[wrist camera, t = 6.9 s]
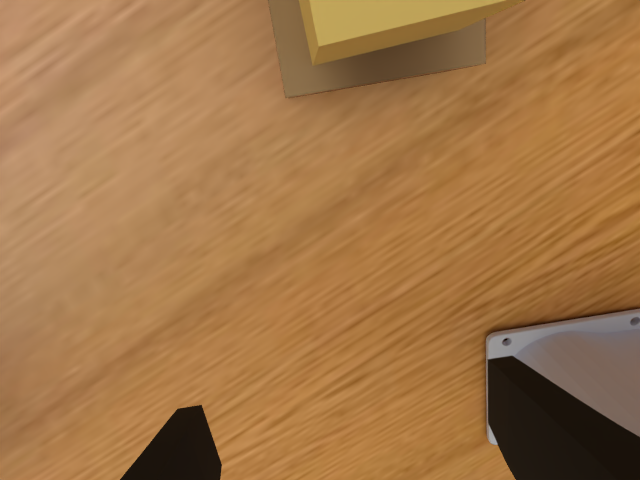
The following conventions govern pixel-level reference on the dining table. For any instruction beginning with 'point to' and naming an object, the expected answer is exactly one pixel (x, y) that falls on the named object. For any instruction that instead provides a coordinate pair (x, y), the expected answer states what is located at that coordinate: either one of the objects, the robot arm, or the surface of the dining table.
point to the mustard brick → (385, 23)
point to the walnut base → (367, 56)
